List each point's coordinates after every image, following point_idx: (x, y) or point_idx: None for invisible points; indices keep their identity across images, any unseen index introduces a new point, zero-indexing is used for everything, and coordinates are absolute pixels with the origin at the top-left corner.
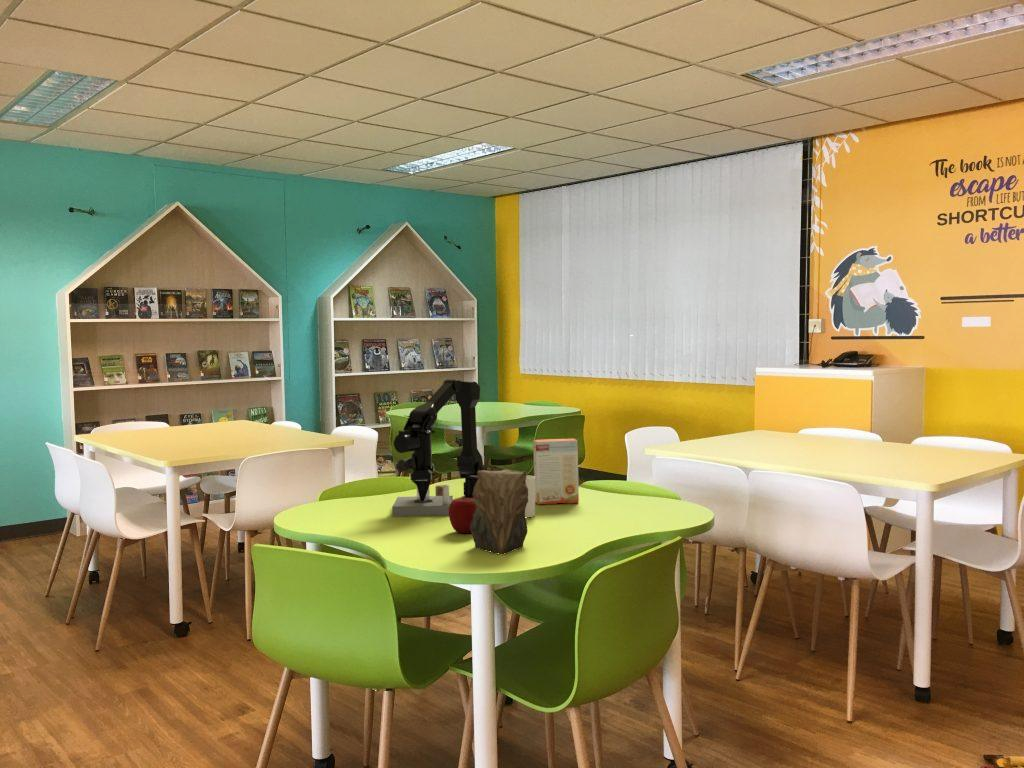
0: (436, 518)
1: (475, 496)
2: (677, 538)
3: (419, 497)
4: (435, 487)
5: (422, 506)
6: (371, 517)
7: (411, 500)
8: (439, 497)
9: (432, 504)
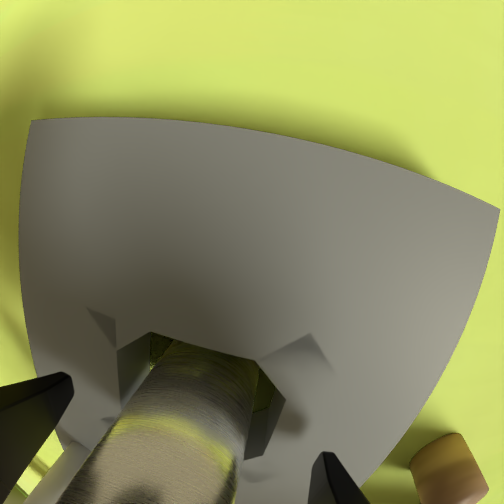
0: (31, 355)
1: None
2: (25, 496)
3: (128, 401)
4: (474, 486)
5: (30, 341)
6: (107, 14)
7: (252, 329)
8: (301, 496)
9: (72, 409)
